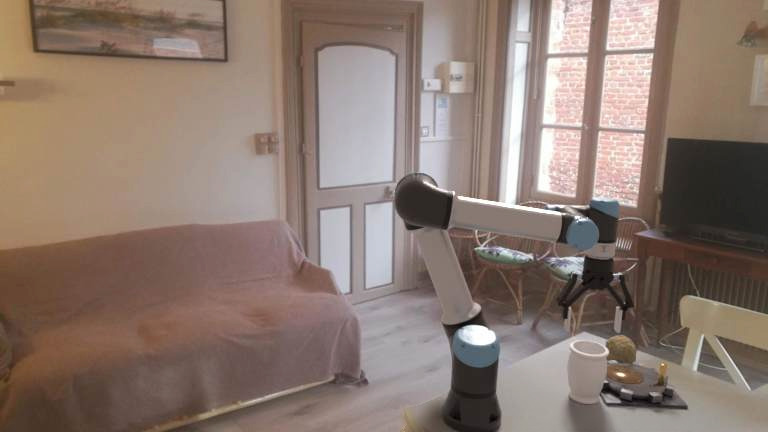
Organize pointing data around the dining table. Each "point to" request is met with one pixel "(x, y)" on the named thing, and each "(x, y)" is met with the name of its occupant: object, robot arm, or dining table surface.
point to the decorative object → (621, 349)
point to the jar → (586, 370)
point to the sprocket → (637, 381)
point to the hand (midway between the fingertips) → (591, 330)
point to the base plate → (642, 400)
